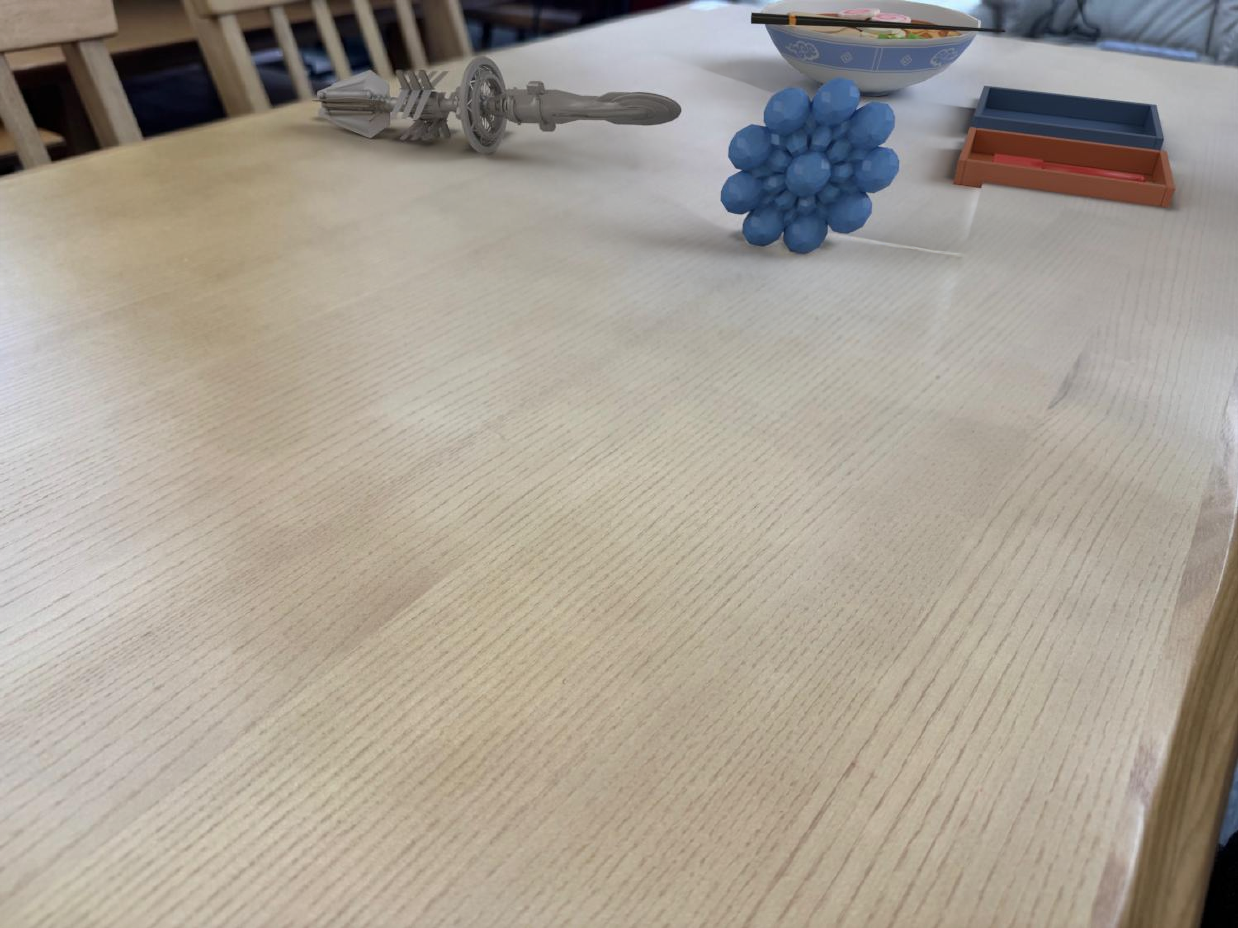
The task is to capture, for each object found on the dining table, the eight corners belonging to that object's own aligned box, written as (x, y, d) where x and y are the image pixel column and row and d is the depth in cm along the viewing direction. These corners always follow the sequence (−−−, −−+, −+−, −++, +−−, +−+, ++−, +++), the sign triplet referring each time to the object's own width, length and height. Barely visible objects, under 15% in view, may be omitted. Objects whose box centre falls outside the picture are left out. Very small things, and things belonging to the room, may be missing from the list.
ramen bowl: (957, 69, 117) (972, -7, 112) (997, 124, 98) (1018, 36, 93) (744, 58, 119) (750, -16, 114) (743, 111, 100) (751, 24, 95)
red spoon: (1142, 184, 83) (1146, 170, 82) (1143, 196, 81) (1148, 181, 80) (991, 164, 86) (995, 151, 86) (989, 175, 84) (992, 161, 83)
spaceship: (658, 96, 74) (687, 34, 78) (276, 92, 86) (318, 38, 90) (675, 181, 80) (701, 119, 84) (317, 167, 92) (354, 113, 96)
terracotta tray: (1157, 179, 85) (1167, 151, 84) (1164, 218, 78) (1175, 188, 76) (964, 153, 90) (969, 126, 89) (952, 188, 82) (958, 159, 81)
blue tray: (1148, 129, 98) (1156, 104, 96) (1155, 166, 88) (1164, 139, 87) (978, 109, 102) (984, 85, 101) (967, 142, 93) (973, 116, 92)
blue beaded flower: (879, 238, 73) (911, 67, 66) (882, 275, 67) (917, 92, 61) (722, 224, 74) (736, 55, 68) (712, 258, 69) (727, 79, 62)
